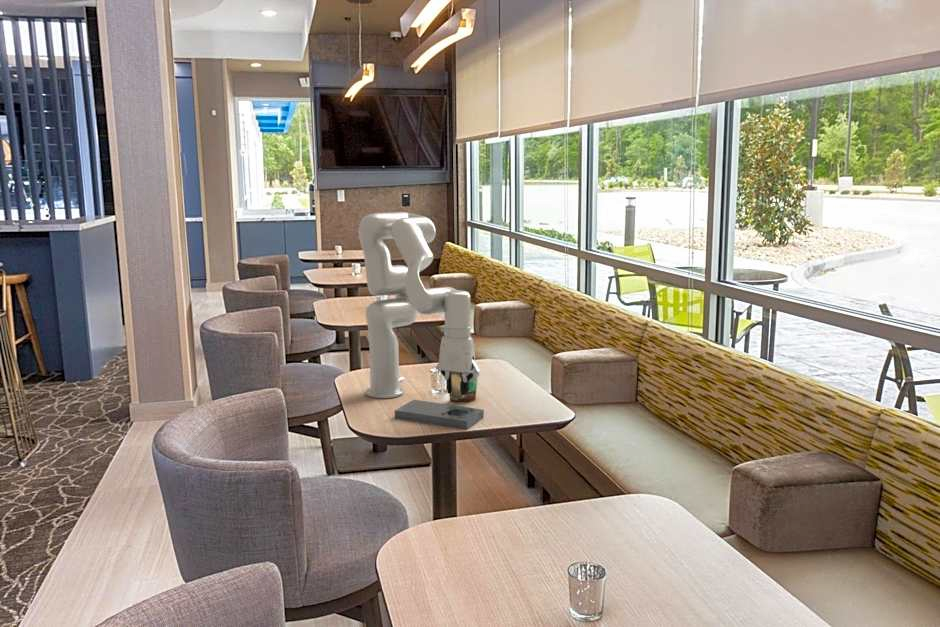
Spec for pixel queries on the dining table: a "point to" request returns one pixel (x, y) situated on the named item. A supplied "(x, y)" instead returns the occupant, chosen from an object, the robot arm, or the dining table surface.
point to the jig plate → (439, 414)
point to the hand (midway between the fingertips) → (457, 392)
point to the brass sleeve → (456, 385)
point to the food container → (471, 393)
